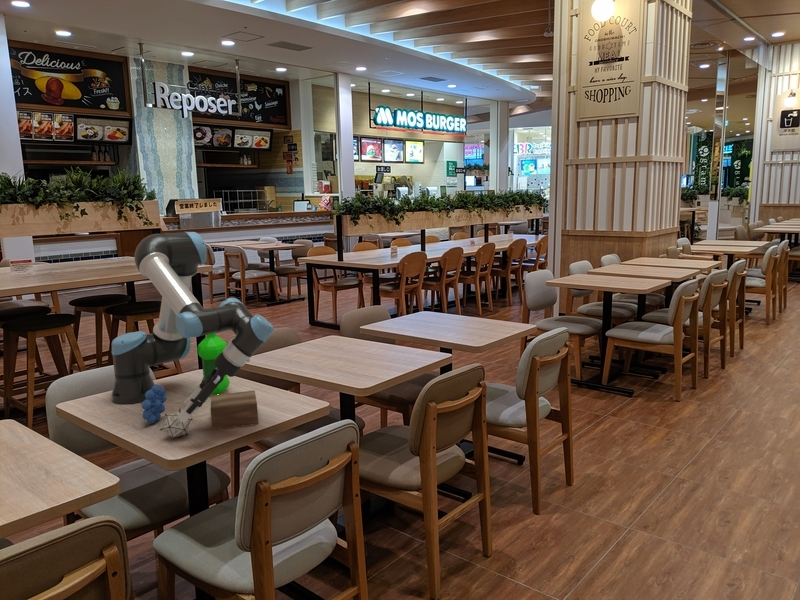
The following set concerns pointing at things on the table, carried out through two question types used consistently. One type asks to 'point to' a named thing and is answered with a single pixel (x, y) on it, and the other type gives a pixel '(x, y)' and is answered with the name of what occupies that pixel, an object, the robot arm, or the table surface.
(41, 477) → the table surface
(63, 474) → the table surface
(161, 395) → the grapes
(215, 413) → the walnut block
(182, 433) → the white wireframe polyhedron
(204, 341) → the plastic bottle
